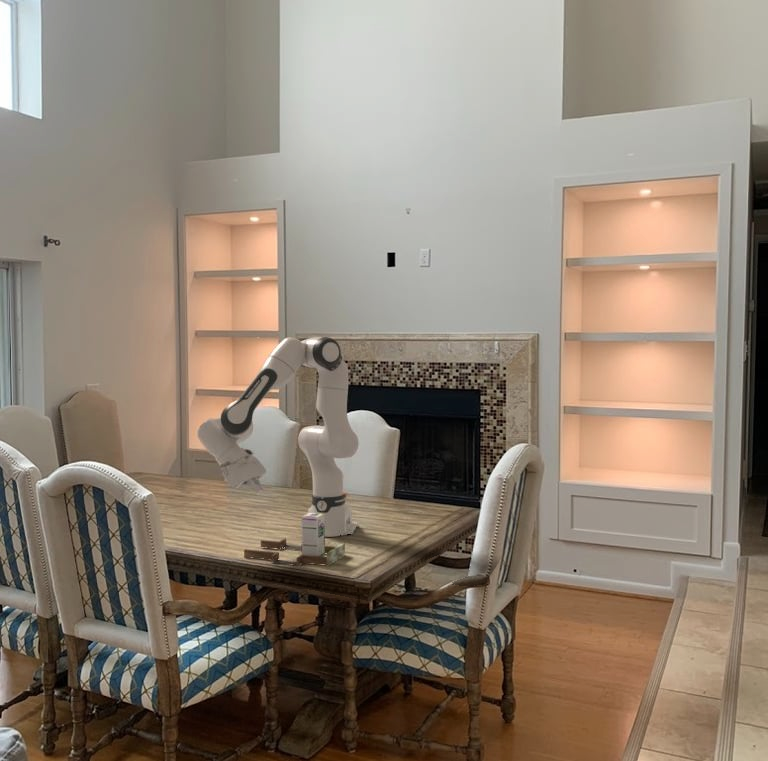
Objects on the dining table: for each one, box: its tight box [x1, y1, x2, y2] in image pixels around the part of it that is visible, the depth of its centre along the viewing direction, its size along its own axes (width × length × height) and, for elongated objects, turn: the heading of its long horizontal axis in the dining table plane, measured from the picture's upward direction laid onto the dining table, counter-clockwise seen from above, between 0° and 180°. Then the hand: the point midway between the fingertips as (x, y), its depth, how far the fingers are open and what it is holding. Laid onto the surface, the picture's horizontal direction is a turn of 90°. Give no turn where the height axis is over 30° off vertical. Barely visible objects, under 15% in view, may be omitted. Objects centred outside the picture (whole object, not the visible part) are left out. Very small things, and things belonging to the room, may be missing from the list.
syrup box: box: [301, 512, 326, 557], centre depth 263 cm, size 6×6×14 cm
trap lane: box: [243, 537, 346, 566], centre depth 266 cm, size 20×30×4 cm
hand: (260, 490), depth 268 cm, fingers closed
